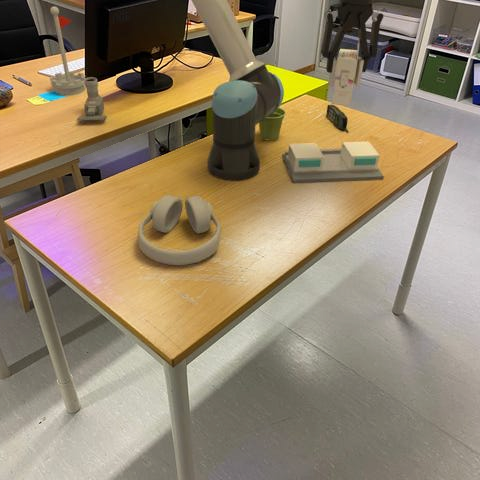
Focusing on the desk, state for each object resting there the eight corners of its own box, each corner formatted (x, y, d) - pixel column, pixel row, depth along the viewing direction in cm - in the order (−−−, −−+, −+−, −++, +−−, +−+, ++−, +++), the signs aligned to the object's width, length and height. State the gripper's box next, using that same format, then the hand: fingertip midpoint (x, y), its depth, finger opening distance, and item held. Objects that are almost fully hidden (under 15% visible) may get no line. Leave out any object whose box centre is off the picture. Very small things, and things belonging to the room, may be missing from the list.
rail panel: (293, 183, 129) (295, 164, 126) (282, 156, 142) (283, 138, 138) (383, 179, 132) (387, 160, 129) (364, 153, 145) (368, 136, 141)
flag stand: (57, 98, 176) (38, 11, 158) (49, 88, 185) (30, 4, 167) (91, 93, 181) (77, 8, 163) (82, 83, 190) (68, 1, 172)
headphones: (148, 211, 115) (134, 273, 101) (144, 186, 110) (129, 247, 96) (222, 213, 115) (219, 274, 101) (222, 188, 110) (218, 249, 96)
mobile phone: (326, 103, 165) (344, 119, 154) (334, 103, 166) (352, 118, 154) (324, 117, 168) (342, 133, 157) (332, 116, 169) (350, 132, 157)
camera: (104, 76, 162) (98, 91, 150) (109, 108, 169) (104, 126, 158) (79, 76, 161) (71, 92, 149) (85, 109, 168) (77, 126, 157)
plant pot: (289, 139, 152) (291, 114, 146) (265, 145, 148) (266, 119, 142) (273, 129, 158) (275, 104, 153) (249, 134, 154) (250, 109, 149)
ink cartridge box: (333, 93, 126) (341, 35, 118) (351, 95, 126) (361, 37, 117) (330, 104, 120) (339, 44, 111) (350, 106, 119) (360, 46, 110)
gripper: (321, -15, 103) (310, 90, 117) (405, -14, 104) (384, 89, 118) (314, -20, 109) (304, 80, 123) (394, -19, 110) (375, 80, 124)
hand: (343, 84), depth 120 cm, fingers closed on ink cartridge box, 6 cm apart
